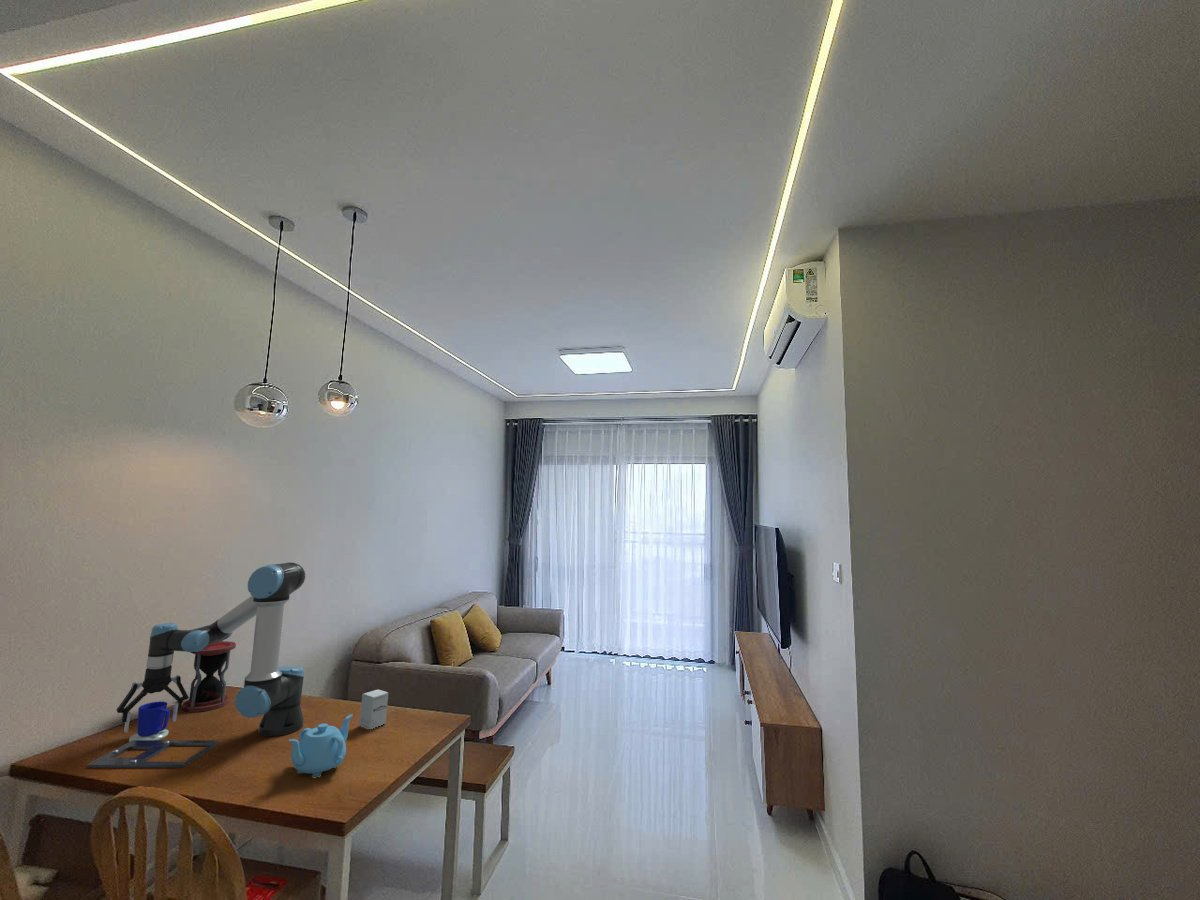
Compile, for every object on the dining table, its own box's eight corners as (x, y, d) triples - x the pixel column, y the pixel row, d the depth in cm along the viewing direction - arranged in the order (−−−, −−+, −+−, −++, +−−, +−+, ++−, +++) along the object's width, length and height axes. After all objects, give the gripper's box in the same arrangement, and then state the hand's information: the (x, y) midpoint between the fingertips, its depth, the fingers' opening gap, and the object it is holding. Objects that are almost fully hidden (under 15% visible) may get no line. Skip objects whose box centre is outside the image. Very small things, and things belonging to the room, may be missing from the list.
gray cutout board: (219, 743, 184) (219, 739, 184) (182, 767, 166) (183, 763, 166) (132, 743, 182) (132, 739, 182) (85, 768, 164) (86, 763, 164)
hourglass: (203, 697, 227) (210, 640, 230) (237, 699, 226) (244, 641, 229) (171, 711, 211) (180, 649, 214) (208, 713, 210) (216, 651, 213)
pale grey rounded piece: (175, 731, 193) (176, 728, 193) (152, 743, 182) (153, 741, 182) (145, 730, 192) (145, 728, 192) (120, 743, 181) (120, 741, 181)
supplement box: (369, 731, 198) (372, 697, 200) (358, 726, 202) (361, 693, 204) (386, 724, 205) (389, 692, 206) (375, 720, 209) (377, 688, 210)
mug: (153, 741, 182) (157, 712, 184) (128, 736, 185) (132, 707, 186) (176, 731, 190) (180, 704, 191) (152, 727, 193) (156, 700, 194)
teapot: (282, 786, 157) (287, 739, 159) (298, 757, 175) (302, 715, 177) (340, 780, 162) (344, 734, 164) (349, 752, 180) (353, 711, 182)
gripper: (197, 657, 202) (190, 713, 199) (112, 670, 183) (102, 732, 180) (202, 661, 197) (194, 719, 194) (115, 675, 178) (105, 739, 176)
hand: (150, 725), depth 187 cm, fingers open, 13 cm apart
